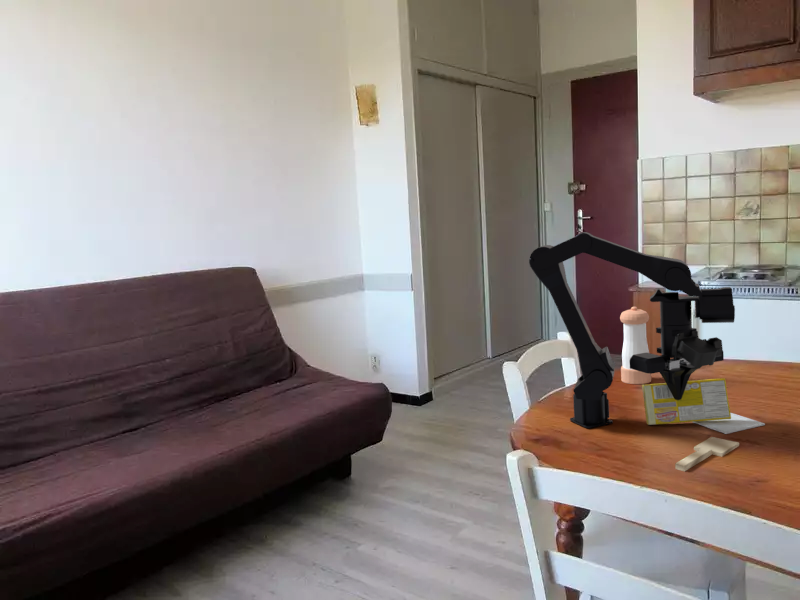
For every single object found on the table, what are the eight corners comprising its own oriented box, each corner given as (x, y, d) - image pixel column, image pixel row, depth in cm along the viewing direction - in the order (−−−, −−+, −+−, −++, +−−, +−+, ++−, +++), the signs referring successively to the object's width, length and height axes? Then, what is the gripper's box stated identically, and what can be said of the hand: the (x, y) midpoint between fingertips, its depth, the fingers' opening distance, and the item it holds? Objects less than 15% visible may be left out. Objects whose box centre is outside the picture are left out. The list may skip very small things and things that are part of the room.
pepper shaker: (630, 375, 172) (628, 304, 169) (656, 379, 166) (654, 305, 164) (615, 381, 167) (613, 308, 164) (642, 385, 162) (640, 309, 159)
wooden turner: (694, 474, 109) (694, 468, 108) (666, 466, 112) (665, 460, 112) (739, 445, 119) (739, 440, 119) (711, 439, 123) (711, 434, 123)
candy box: (727, 418, 132) (722, 377, 133) (731, 419, 130) (726, 378, 131) (645, 424, 134) (641, 383, 135) (648, 425, 132) (643, 384, 133)
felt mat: (725, 434, 125) (725, 432, 125) (665, 412, 140) (665, 411, 140) (764, 424, 129) (764, 423, 129) (702, 404, 144) (702, 403, 144)
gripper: (666, 335, 118) (669, 418, 120) (746, 322, 124) (746, 401, 126) (626, 327, 129) (629, 403, 131) (701, 315, 135) (702, 388, 137)
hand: (677, 399), depth 131 cm, fingers closed
